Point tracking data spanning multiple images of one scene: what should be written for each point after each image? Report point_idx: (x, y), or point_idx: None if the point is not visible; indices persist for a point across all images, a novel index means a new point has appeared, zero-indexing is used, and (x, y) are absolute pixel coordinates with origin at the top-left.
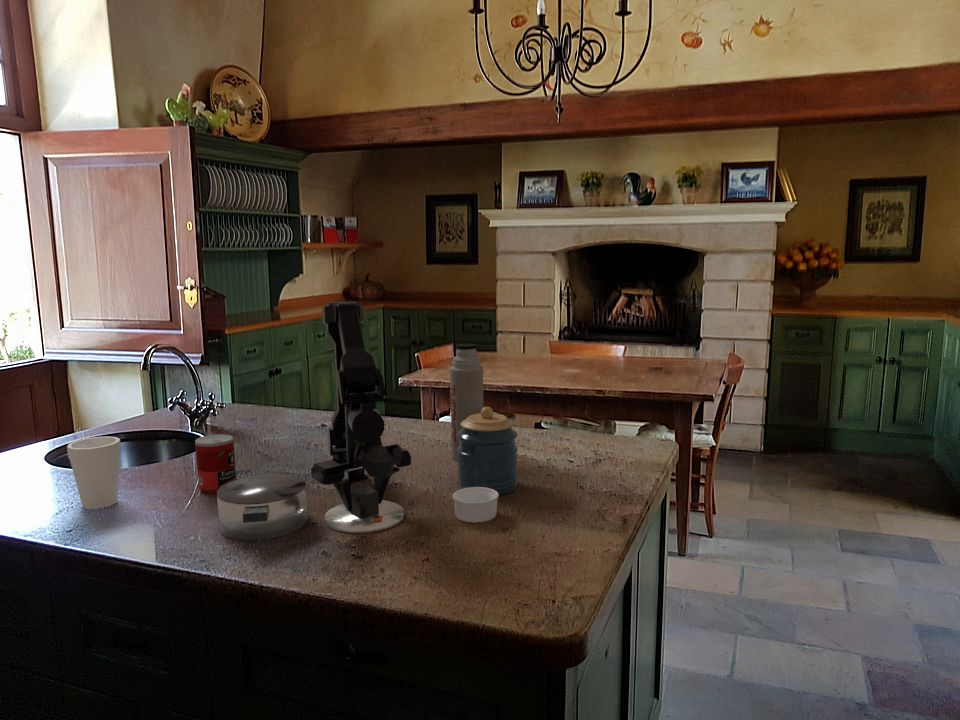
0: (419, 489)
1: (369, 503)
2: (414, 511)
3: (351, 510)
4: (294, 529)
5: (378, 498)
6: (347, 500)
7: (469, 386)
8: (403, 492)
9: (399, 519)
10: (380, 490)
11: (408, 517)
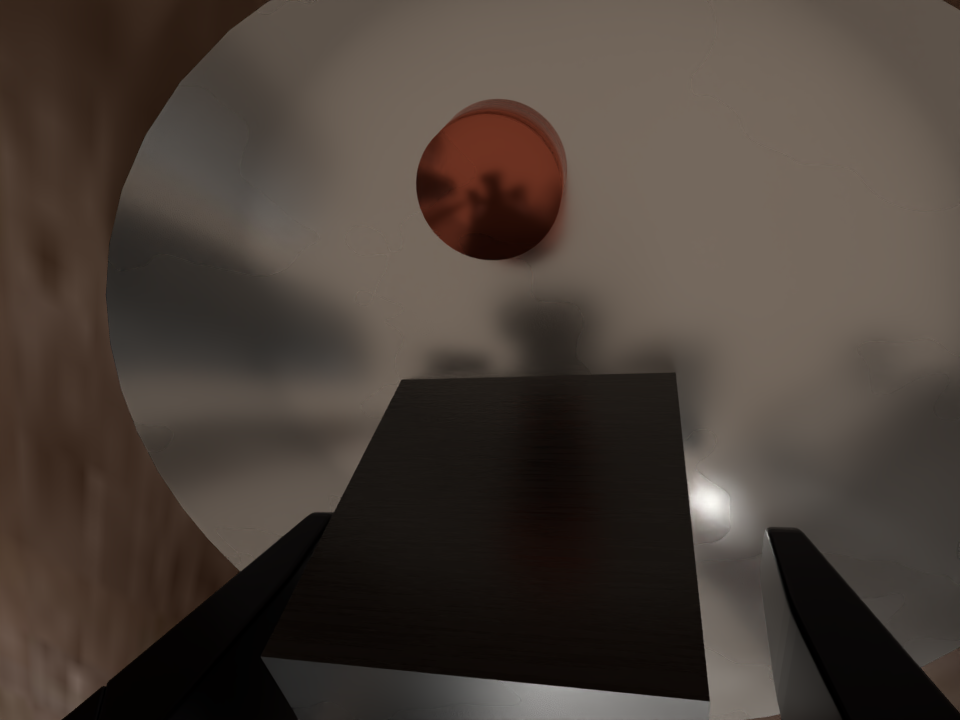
0: (3, 606)
1: (497, 510)
2: (24, 288)
3: (775, 534)
4: None
5: None
6: (952, 717)
7: None
8: (115, 629)
9: (188, 82)
10: (222, 673)
11: (90, 168)
